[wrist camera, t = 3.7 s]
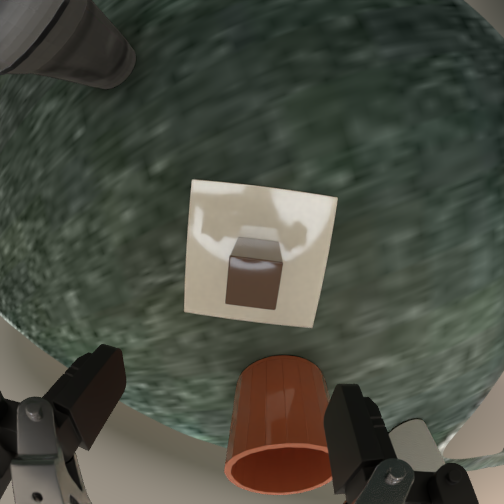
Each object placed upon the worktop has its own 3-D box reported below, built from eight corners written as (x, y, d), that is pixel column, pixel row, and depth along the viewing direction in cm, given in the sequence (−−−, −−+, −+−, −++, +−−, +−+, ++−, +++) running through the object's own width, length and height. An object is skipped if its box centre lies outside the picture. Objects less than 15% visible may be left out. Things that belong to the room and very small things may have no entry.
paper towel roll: (412, 412, 26) (470, 549, 5) (431, 423, 27) (484, 539, 6) (368, 445, 28) (402, 579, 7) (391, 453, 28) (426, 569, 8)
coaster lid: (194, 179, 20) (168, 180, 15) (335, 196, 20) (360, 205, 14) (186, 307, 23) (165, 345, 17) (311, 323, 23) (322, 365, 17)
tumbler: (240, 349, 24) (228, 438, 14) (335, 358, 24) (361, 441, 14) (233, 412, 26) (222, 490, 17) (313, 418, 26) (323, 494, 16)
